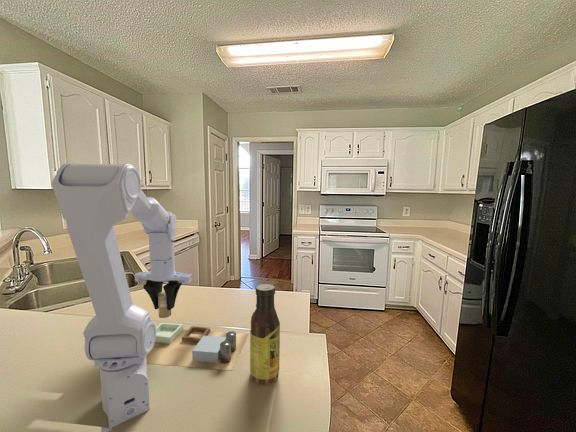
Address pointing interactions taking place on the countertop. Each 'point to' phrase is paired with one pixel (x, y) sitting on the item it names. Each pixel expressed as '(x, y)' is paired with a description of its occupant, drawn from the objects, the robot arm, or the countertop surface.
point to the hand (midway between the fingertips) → (164, 307)
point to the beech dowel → (163, 306)
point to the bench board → (183, 346)
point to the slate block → (208, 349)
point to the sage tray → (167, 332)
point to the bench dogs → (227, 347)
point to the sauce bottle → (264, 337)
